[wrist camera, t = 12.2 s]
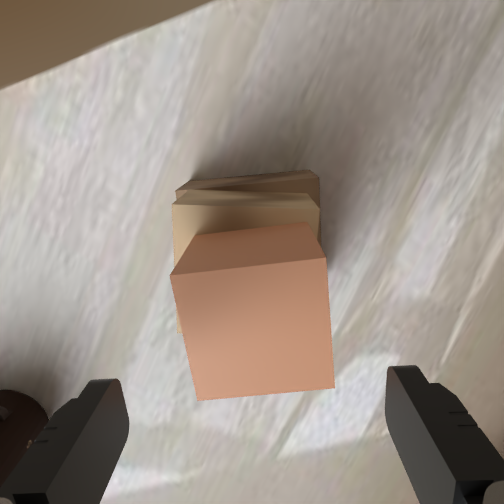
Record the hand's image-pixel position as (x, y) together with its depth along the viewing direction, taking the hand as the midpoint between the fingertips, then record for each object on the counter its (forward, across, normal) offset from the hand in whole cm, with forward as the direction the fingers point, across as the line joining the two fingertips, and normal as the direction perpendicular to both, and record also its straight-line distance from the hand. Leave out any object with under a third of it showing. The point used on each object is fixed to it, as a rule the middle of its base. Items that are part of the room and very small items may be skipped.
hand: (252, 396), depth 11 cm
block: (+8, 0, 0) cm, 8 cm away
